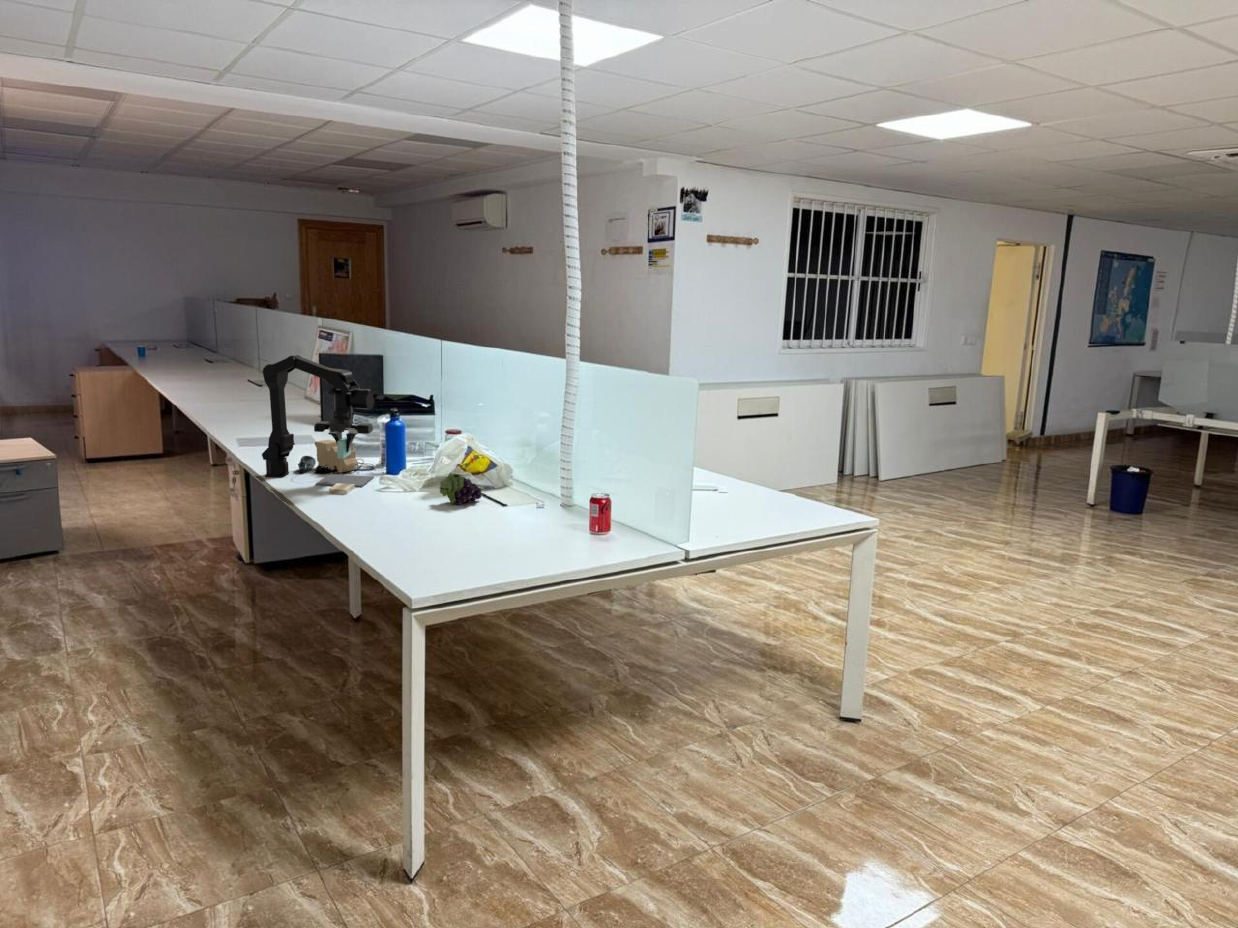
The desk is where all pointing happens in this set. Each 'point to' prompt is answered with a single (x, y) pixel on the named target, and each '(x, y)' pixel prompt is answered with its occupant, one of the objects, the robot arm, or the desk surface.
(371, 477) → the mat
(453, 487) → the fruit
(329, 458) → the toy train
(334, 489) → the birch slab
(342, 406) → the robot arm
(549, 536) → the desk surface
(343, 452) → the teal slab
